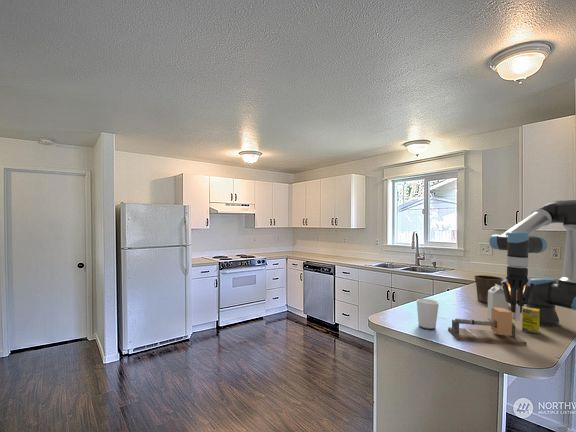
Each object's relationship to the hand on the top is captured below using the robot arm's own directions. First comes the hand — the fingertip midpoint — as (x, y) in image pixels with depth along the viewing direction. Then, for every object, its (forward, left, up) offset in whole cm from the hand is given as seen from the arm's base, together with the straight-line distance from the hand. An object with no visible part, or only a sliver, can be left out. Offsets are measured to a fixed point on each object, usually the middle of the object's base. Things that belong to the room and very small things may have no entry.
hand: (516, 319), depth 136 cm
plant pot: (-21, -71, -9) cm, 75 cm away
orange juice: (-44, -83, -9) cm, 94 cm away
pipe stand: (+12, 0, -9) cm, 15 cm away
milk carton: (-6, -28, -9) cm, 30 cm away
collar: (+6, 0, -6) cm, 8 cm away
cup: (+35, -8, -9) cm, 37 cm away
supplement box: (-14, -14, -9) cm, 22 cm away
